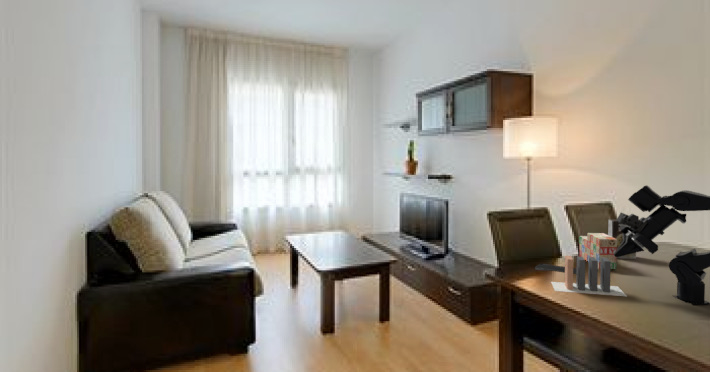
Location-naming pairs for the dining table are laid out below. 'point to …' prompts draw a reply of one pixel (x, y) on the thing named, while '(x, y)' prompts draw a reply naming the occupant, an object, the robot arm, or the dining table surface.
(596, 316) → the dining table surface
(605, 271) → the domino
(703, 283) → the robot arm
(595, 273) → the domino
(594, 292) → the white mat
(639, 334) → the dining table surface
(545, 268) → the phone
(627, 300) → the dining table surface
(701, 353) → the dining table surface
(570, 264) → the terracotta domino
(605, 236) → the stack of blocks
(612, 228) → the coffee box
